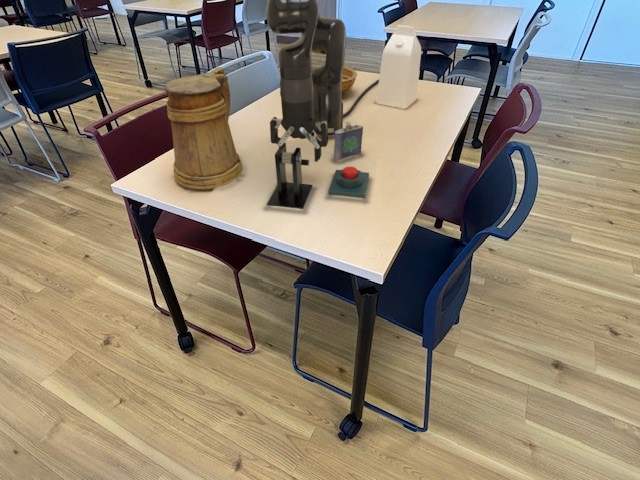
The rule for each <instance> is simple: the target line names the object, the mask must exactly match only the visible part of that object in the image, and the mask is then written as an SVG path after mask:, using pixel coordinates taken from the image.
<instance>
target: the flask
mask: <svg viewBox="0 0 640 480" xmlns="http://www.w3.org/2000/svg"><path fill="white" fill-rule="evenodd" d="M363 131H364V126H362V125H360V124H354V125H352V124H351V122H350V121H345V127H343V129H340V130H337V131H335V134H334V135H335V137H334V141H333V143H334V145H333V159H334V160H337V161H339V160H342V159H344V158H347V157H351V156H354V155H359V154H361V153H362V144H363V134H364V132H363Z"/></svg>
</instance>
